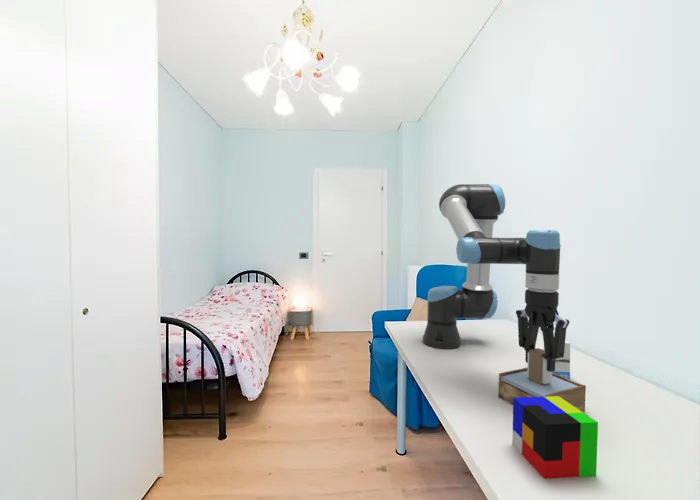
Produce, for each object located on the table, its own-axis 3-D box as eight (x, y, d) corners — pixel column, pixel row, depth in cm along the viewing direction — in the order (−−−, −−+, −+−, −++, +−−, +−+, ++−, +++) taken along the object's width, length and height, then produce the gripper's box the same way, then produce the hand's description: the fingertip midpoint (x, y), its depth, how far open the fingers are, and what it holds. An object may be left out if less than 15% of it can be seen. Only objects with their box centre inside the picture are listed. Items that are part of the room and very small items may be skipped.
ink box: (570, 381, 101) (571, 343, 100) (552, 379, 102) (553, 341, 101) (558, 370, 109) (559, 335, 109) (542, 369, 110) (543, 334, 110)
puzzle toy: (512, 444, 69) (513, 397, 69) (557, 442, 70) (558, 396, 70) (544, 479, 59) (545, 424, 59) (596, 476, 60) (597, 422, 60)
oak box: (498, 396, 90) (498, 373, 90) (534, 388, 96) (534, 365, 96) (546, 423, 77) (547, 395, 77) (584, 411, 83) (585, 385, 83)
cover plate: (501, 379, 89) (501, 346, 89) (535, 372, 95) (536, 341, 94) (543, 400, 78) (544, 362, 78) (580, 390, 83) (581, 355, 83)
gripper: (504, 286, 92) (502, 369, 92) (563, 295, 76) (560, 395, 77) (523, 284, 95) (521, 365, 95) (584, 293, 79) (581, 390, 80)
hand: (539, 379), depth 86 cm, fingers closed on cover plate, 3 cm apart
